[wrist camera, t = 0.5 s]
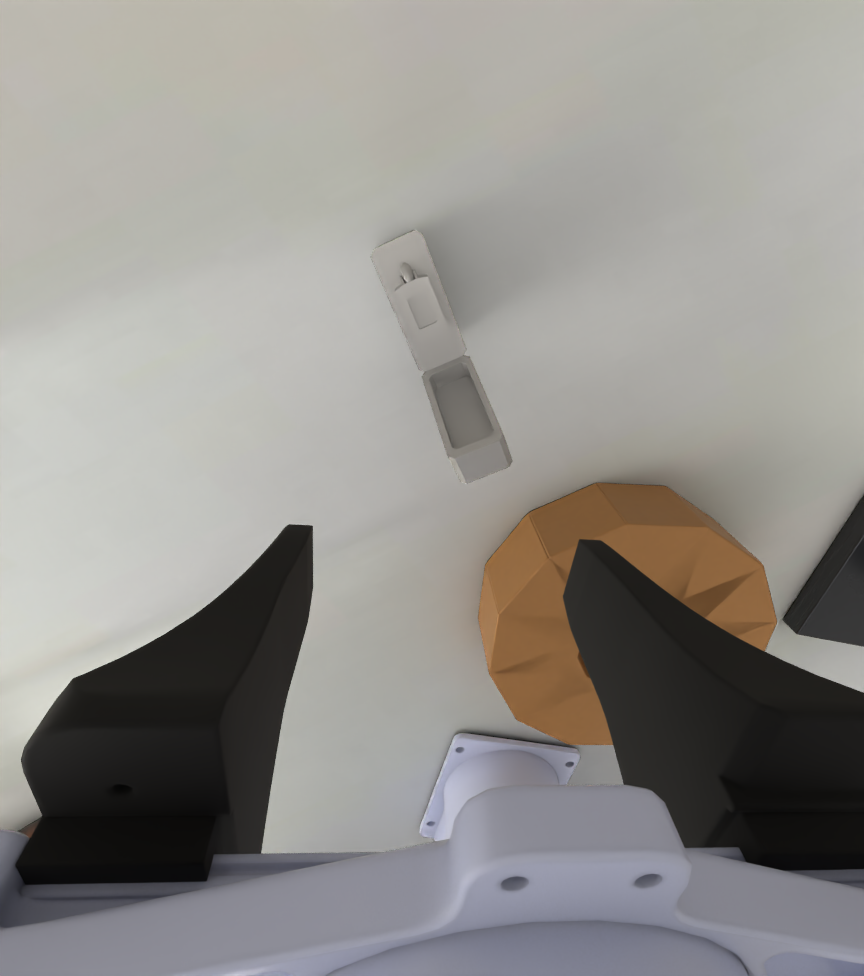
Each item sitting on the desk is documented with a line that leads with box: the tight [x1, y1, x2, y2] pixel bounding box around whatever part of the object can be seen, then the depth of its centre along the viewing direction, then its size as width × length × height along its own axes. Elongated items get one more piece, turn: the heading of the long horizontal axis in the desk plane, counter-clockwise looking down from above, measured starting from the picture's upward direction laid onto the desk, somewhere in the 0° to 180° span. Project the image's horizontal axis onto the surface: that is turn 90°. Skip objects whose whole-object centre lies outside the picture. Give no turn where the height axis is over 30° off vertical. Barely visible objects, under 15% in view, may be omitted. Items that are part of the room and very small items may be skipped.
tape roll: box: [478, 483, 777, 745], centre depth 26 cm, size 13×13×4 cm
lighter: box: [371, 230, 513, 484], centre depth 18 cm, size 7×2×8 cm, turn 23°
